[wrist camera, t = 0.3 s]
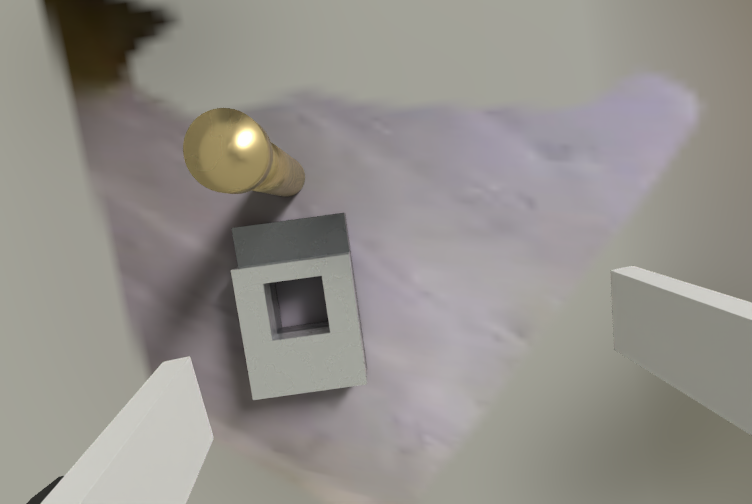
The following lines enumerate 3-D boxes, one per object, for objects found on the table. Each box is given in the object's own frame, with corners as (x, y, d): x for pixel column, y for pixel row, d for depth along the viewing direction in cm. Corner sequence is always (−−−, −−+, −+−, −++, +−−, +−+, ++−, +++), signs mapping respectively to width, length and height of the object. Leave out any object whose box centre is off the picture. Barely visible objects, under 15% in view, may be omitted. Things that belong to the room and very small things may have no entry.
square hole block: (238, 227, 38) (223, 229, 34) (345, 212, 38) (342, 213, 34) (264, 381, 39) (252, 400, 35) (366, 366, 39) (367, 384, 35)
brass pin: (257, 156, 37) (176, 113, 21) (305, 149, 37) (259, 102, 21) (265, 203, 38) (191, 197, 22) (312, 197, 38) (273, 186, 22)
